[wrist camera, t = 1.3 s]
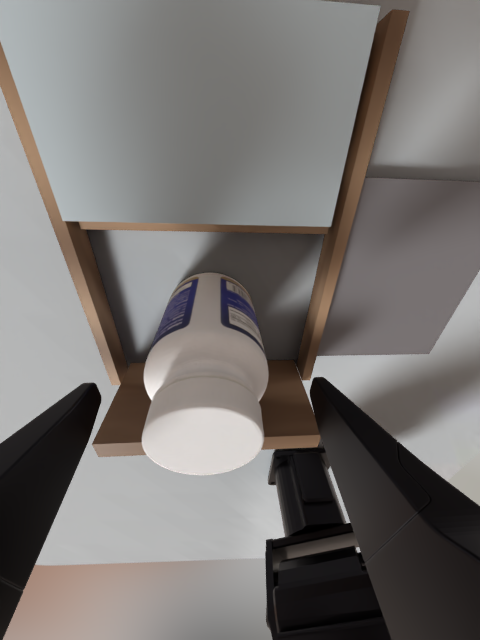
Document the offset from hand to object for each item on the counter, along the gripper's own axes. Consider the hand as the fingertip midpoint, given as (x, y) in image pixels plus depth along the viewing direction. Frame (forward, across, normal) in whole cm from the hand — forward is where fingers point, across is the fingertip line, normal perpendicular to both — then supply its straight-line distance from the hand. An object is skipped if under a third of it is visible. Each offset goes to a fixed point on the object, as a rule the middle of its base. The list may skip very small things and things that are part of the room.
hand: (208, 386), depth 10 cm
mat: (+6, -11, -2) cm, 13 cm away
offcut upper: (+3, 0, -9) cm, 9 cm away
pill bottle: (+6, 0, 0) cm, 7 cm away
